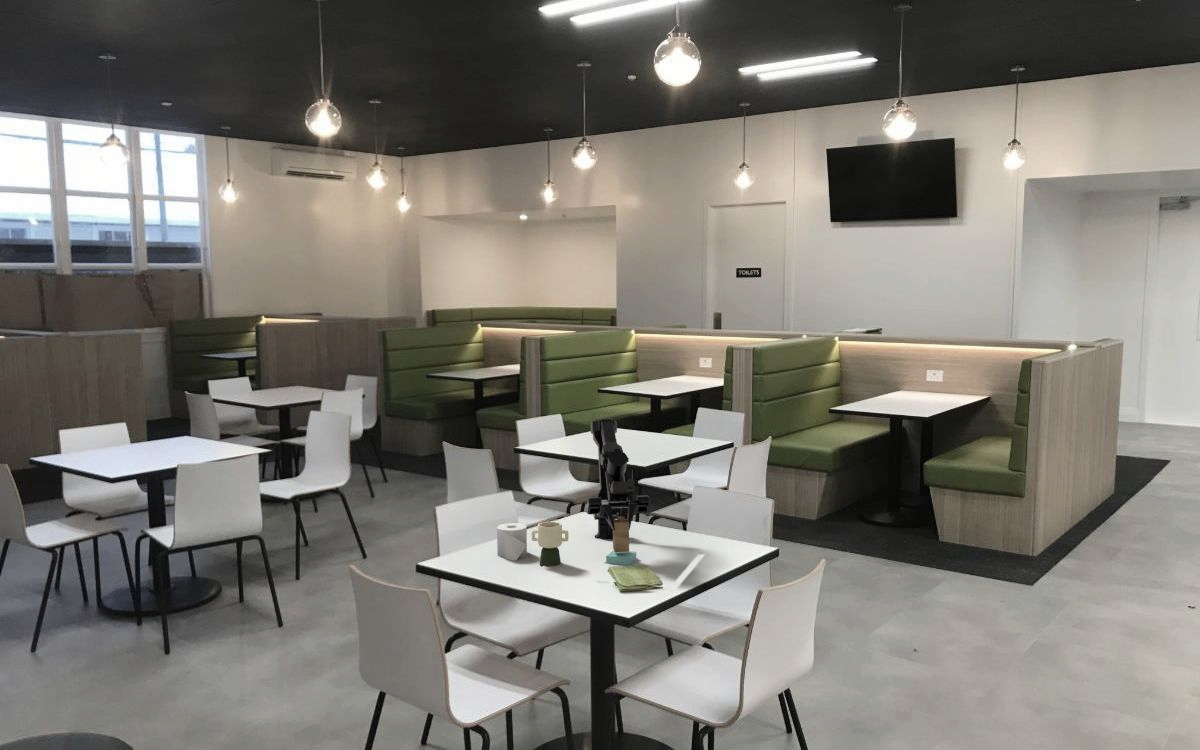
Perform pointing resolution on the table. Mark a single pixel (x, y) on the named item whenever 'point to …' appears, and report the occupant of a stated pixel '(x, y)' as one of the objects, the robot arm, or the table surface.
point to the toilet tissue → (512, 540)
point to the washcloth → (634, 578)
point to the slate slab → (623, 564)
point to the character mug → (550, 542)
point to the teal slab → (621, 557)
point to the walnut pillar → (621, 535)
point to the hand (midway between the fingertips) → (621, 529)
